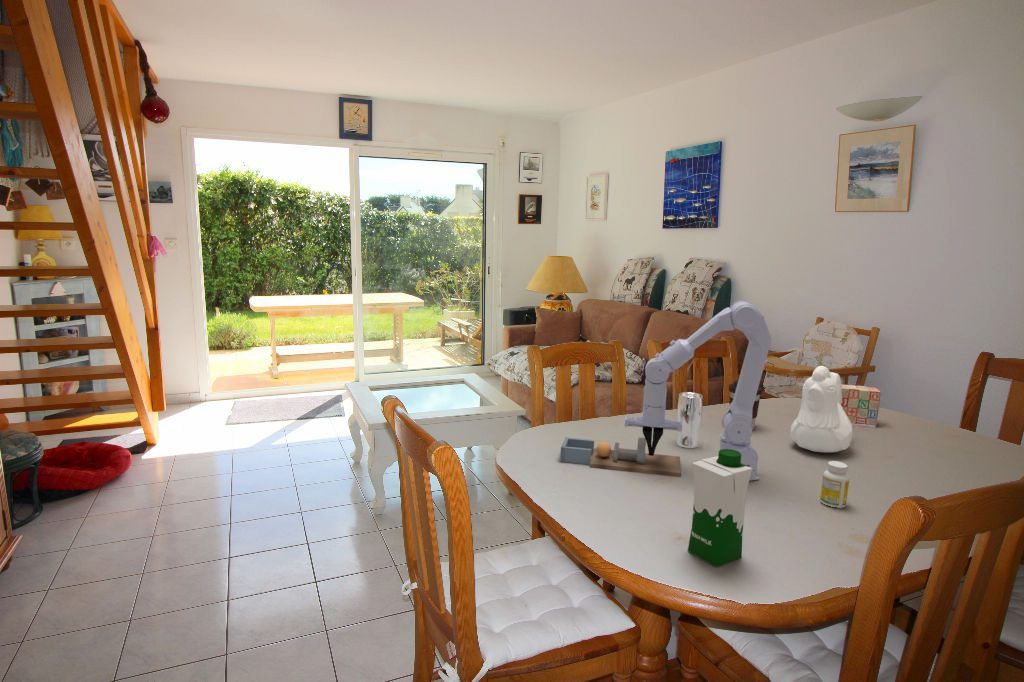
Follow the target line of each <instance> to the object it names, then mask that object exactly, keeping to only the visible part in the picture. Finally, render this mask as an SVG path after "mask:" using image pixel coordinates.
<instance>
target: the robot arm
mask: <svg viewBox="0 0 1024 682" xmlns="http://www.w3.org/2000/svg"><path fill="white" fill-rule="evenodd" d="M734 326H735V327H736V328H737V329H738V330H739V331H741V332H742V333H743V334H744V336H745V337H746V338H747V340H748V344H747V346H746V347H747V348H746V351H745V356H744V357H743V358H744V359H743V363H742V366H741V369H740V374H739V377H738V379H737V380H738V384H737V388H736V391H735V395H734V399H733V401H732V403H731V404H730V403H729V407H728V410H727V411H726V412H725V413H724V415H723V416H722V418H721V425H722V427H723V428H722V429H724V432H723V433H722V434H721V435H720V439H719V442H720V443H719V450H722V449H731V450H735V451H738V452H740V453H741V462H740V463H742V464H744V465H746V466H747V467H750V468H752V472H751V476H750V480H749V482H751V481H758V480H760V478H759V476H757V471H758V470H757V469H758V464H759V463H758V462H759V461H758V460H759V456H758V452H757V450H756V449H754V448H753V446H752V443H751V438H752V436H753V430H752V428H751V421H752V409H753V404H754V401H755V397H756V394H757V390H758V386H759V387H760V383H761V379H762V375H763V372H764V369H765V365H766V361H767V357H768V354H769V352H770V351H769V350H770V347H771V344H772V343H771V342H772V336H771V333H770V331H769V328H768V325H767V322H766V319H765V316H764V315H763V313H762V312H761V311H760V310H759V309H758V308H757V307H756V306H755V305H753V304H752V303H750V302H749V301H748V300H747V301H746V300H737V301H734V302H733V303H732V304H731V305H730V306H729V307H728V306H727V307H726V308H723V310H721V311H719V312H718V313H717V314H716V315H714V316H713V317H712V318H711V319H709V320H708V321H707V322H706V323H704V324H703V325H702V326H701V327H700V328H698V330H696V331H695V332H694V333H693V334H691V335H690V336H689V337H688V338H687V339H681V338H678V339H677V340H674V339H673V340H672V341H670V342H669V346H668V347H666V348H665V349H664V350H663V351H661V352H660V353H659V352H657V353H656V354H655V356H654V357H655V358H654V357H652V358H650V359H649V360H648V361H647V362H646V364H645V367H644V372H645V373H644V375H645V379H644V384H645V385H644V387H643V388H644V389H643V399H642V400H643V401H642V402H643V403H642V417H624V418H625V419H624V427H627V428H628V427H635V428H636V427H637V428H642V435H643V436H644V437H643V438H645V439H646V444H647V445H646V446H647V450H648V454H649V456H654V454H655V452H656V449H657V446H658V444H659V441H660V440H661V438H662V437H663V435H664V430H670V431H677V432H679V431H681V432H682V422H678V421H675V420H669V419H666V410H667V409H666V408H667V403H666V402H667V391H668V389H667V380H668V378H669V376H670V373H673V372H676V371H677V370H678V369H679V368H680V367H682V366H683V365H685V364H686V363H687V362H688V361H690V360H691V359H693V357H694V355H695V350H696V349H697V348H698V347H700V346H702V345H703V344H704V343H706V342H708V341H709V340H711V339H712V338H713V337H715V336H716V335H718V334H719V333H721V332H725V331H728V332H729V331H734V330H735V329H734Z"/></svg>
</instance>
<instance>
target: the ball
mask: <svg viewBox="0 0 1024 682" xmlns="http://www.w3.org/2000/svg"><path fill="white" fill-rule="evenodd" d="M595 448H596V452H597V454H598V455H599V456H601V457H607V456H609V455H610V453H611V450H612V447H611V445H610V443H607V442H606V441H602V442H599V443H598V444H597V446H596V447H595Z"/></svg>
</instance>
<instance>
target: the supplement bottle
mask: <svg viewBox="0 0 1024 682" xmlns="http://www.w3.org/2000/svg"><path fill="white" fill-rule="evenodd" d="M848 468H849V466H848V464H846V463H844V462H841V461H838V460H837V461H836V460H831V461H828V462H827V469H826V470H825V471H824V472H823V475H822V479H821V481H822V483H821V489H820V490H821V491H820V498H819V501H820V503H821V502H822V503H823V504H822V503H821V504H822V505H824V504H825V505H824V506H826V505H828V506H831V507H830V508H832V507H837V508H836V509H843V508H845V507H846V506H847V501H848V500H847V499H848V492H849V486H850V485H849V484H850V476H849V474H848V473H847V472H848ZM828 506H827V507H828ZM842 507H843V508H842Z"/></svg>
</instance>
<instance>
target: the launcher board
mask: <svg viewBox="0 0 1024 682" xmlns="http://www.w3.org/2000/svg"><path fill="white" fill-rule="evenodd" d="M613 458H614V449H611V453H610V455H609V456H607V457H601V456H599V455H598V454H597V452H596V447H594V451H593V455H591V462H590V465H589V468H594V469H603V470H613V471H620V472H630V473H631V472H633V473H641V474H650V475H651V474H653V475H661V476H670V477H672V476H673V477H682V467H681V465H682V464H681V458H680V456H679V455H677V456H676V455H667V454H657V453H656V454H655V453H654V456H649V452H648V453H647V452H645V463H644V464H641V463H637V461H631V460H621V459H617V461H613Z"/></svg>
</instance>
